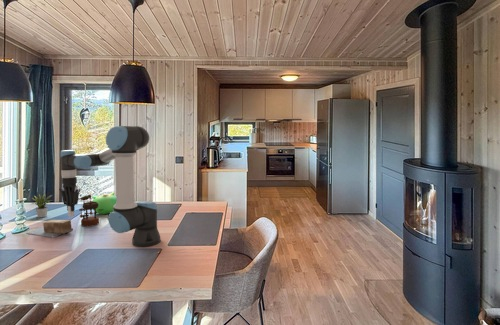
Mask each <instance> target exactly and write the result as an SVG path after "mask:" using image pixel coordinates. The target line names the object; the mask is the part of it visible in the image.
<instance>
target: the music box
mask: <svg viewBox="0 0 500 325" xmlns="http://www.w3.org/2000/svg"><path fill="white" fill-rule="evenodd" d="M89 199H90V200H89ZM79 200H80V201H83V203H82V208H79V209H78V210H79V212H80V215H79V217H80V218H81V219H80V218H79V219H80V223H81V224H80V225H81V226H82V227H93V226H97V225H99V224H100V217H98V216H97V215H98V214H99V212H96V208H98V206H99V204H98V203H97V202H93V200H92V195H91V194H88V195H84V196H82V197H78V201H79ZM87 200H89V201H87ZM85 201H87V202H85ZM93 209H94V210H93ZM100 210H104V209H100ZM88 211H89V212H88ZM93 211H94V212H93ZM83 212H84V214H83ZM92 215H93V216H92Z"/></svg>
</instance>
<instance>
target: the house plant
mask: <svg viewBox="0 0 500 325" xmlns="http://www.w3.org/2000/svg"><path fill="white" fill-rule="evenodd" d="M52 196H53V194H50V195H49V196H47V197H46V194H45V193H44V194H43V195H42V196H41V194H40V193H38V197H37V196H36V195H34V198H35V199H34V198H33V197H32V198H31V199H32V200H34V201H35V203H33V202H32V203H31V205H36V206H37V207H36V208H35V212H36V215H37V216H36V217H37V218H39V217H41V218H46V217H47V216H48V207H49V206H47V205H48V204H51V202H50V201H51V199H50V198H51V197H52ZM49 199H50V200H49Z"/></svg>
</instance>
